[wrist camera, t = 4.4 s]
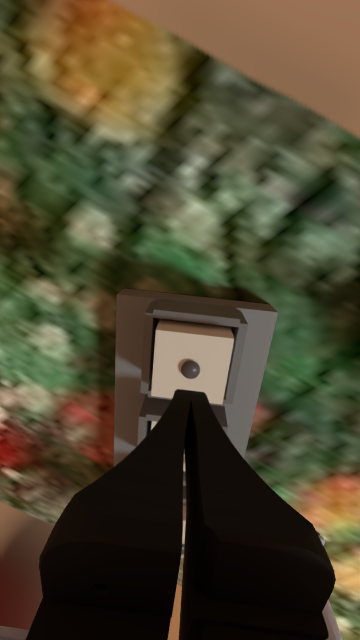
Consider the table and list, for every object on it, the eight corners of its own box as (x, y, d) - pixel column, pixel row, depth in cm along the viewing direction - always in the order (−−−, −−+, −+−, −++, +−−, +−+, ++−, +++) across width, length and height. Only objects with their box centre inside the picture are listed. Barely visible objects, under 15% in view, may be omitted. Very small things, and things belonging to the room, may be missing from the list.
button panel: (226, 503, 26) (231, 557, 22) (118, 489, 27) (103, 540, 22) (270, 303, 19) (291, 325, 15) (124, 287, 20) (103, 304, 15)
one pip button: (219, 387, 18) (222, 406, 16) (155, 380, 18) (150, 397, 16) (230, 327, 16) (234, 340, 14) (160, 319, 16) (155, 331, 14)
